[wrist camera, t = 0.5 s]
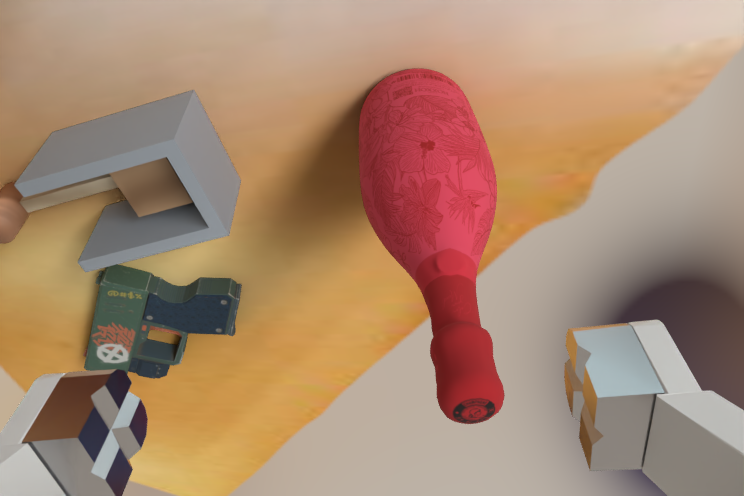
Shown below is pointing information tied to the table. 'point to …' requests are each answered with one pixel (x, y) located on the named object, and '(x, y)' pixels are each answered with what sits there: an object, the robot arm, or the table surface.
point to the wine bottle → (435, 221)
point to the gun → (154, 319)
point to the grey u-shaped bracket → (134, 147)
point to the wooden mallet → (138, 184)
